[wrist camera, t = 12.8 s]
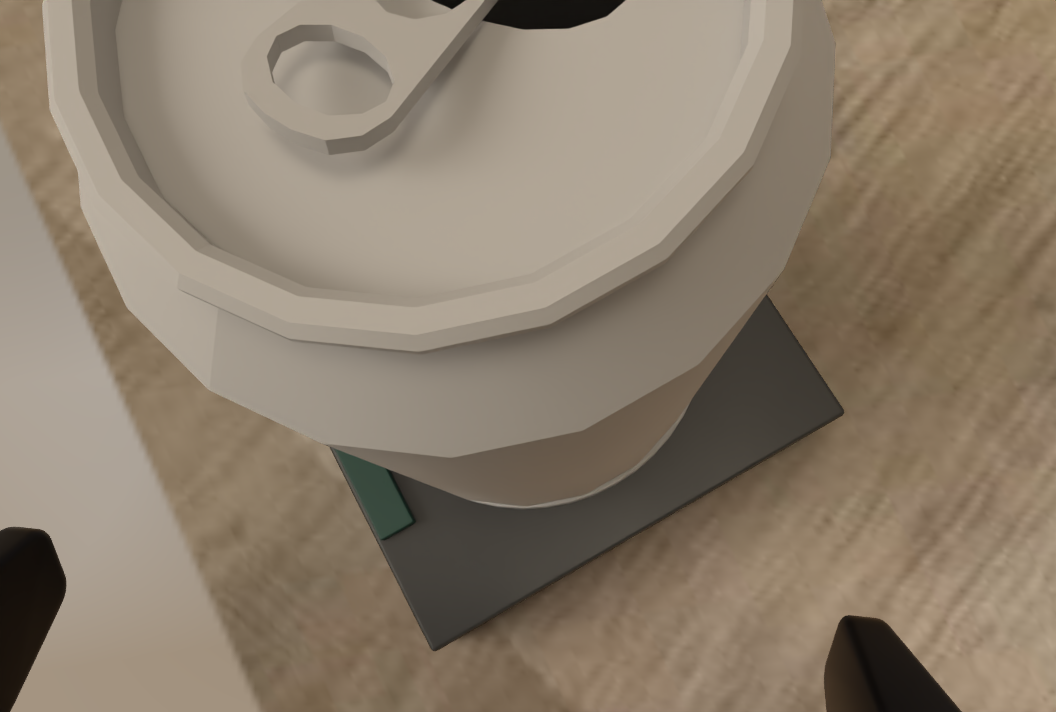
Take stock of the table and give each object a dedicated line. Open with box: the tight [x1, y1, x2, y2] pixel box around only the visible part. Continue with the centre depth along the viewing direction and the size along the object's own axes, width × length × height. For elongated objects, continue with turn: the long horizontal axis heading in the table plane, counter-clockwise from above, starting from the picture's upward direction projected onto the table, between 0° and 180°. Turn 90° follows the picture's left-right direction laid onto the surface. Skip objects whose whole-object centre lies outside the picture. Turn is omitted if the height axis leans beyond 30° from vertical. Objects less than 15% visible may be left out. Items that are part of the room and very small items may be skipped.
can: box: [42, 0, 836, 507], centre depth 12 cm, size 8×8×12 cm
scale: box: [329, 294, 844, 651], centre depth 20 cm, size 10×10×3 cm
